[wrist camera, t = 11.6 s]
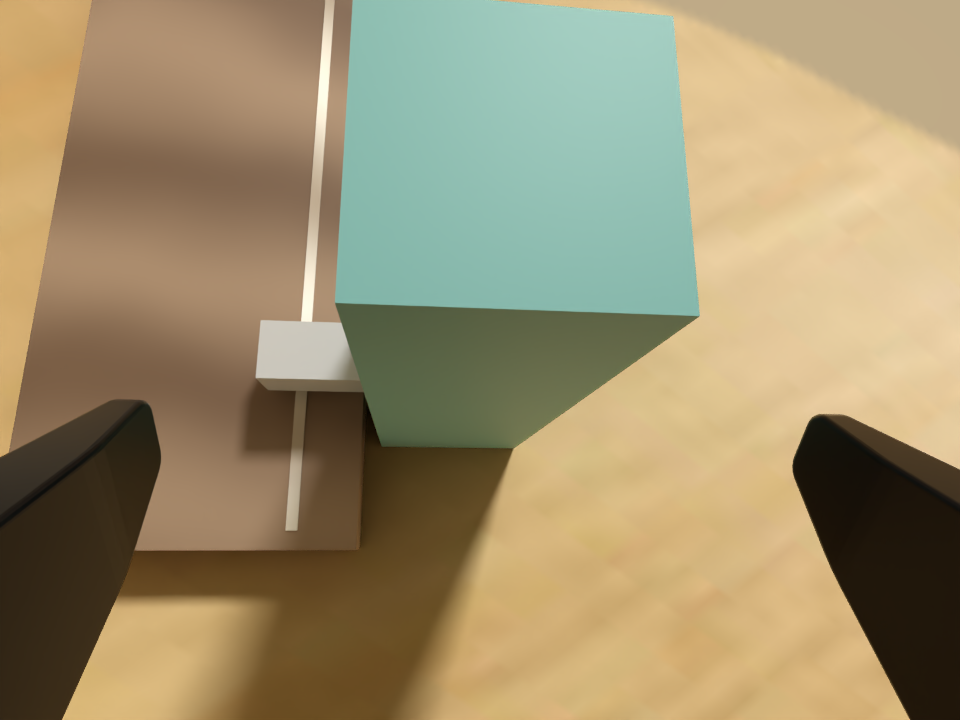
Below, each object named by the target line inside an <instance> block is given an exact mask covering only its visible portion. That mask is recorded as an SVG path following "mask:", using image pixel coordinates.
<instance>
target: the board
mask: <svg viewBox="0 0 960 720" xmlns="http://www.w3.org/2000/svg"><path fill="white" fill-rule="evenodd" d="M352 4H353V0H92V3H91V9H90V14H89V20H88V25H87V30H86V36H85V41H84V47H83V52H82V58H81V63H80V69H79V74H78V79H77V85H76V90H75V96H74V101H73V107H72V112H71V117H70V123H69V128H68V134H67V139H66V145H65V150H64V156H63V161H62V166H61V172H60V177H59V183H58V188H57V194H56V199H55V205H54V210H53V215H52V221H51V226H50V232H49V237H48V243H47V248H46V254H45V259H44V264H43V270H42V275H41V281H40V286H39V292H38V297H37V302H36V308H35V313H34V319H33V324H32V330H31V335H30V341H29V346H28V351H27V357H26V362H25V368H24V373H23V379H22V384H21V390H20V395H19V400H18V406H17V411H16V417H15V422H14V428H13V433H12V439H11V444H10V449H9V452H11V451H13V450H15V449H17V448H19V447H21V446H23V445H25V444H27V443H29V442H31V441H33V440H35V439H36V438H38V437H40V436H42V435H44V434H46V433H48V432H50V431H52V430H54V429H56V428H58V427H60V426H62V425H63V424H65V423H67V422H69V421H71V420H73V419H75V418H77V417H79V416H81V415H83V414H85V413H87V412H89V411H90V410H92V409H94V408H96V407H98V406H100V405H102V404H104V403H106V402H108V401H110V400H114V399H132V400H144V401H146V402H147V403H149V405H150V407H151V409H152V412H153V417H154V422H155V426H156V431H157V436H158V440H159V445H160V450H161V465H160V470H159V473H158V477H157V480H156V483H155V486H154V490H153V493H152V496H151V499H150V502H149V506H148V509H147V512H146V515H145V519H144V522H143V525H142V528H141V531H140V535H139V538H138V541H137V544H136V547H135V551H158V550H357V549H359V548H360V538H361V516H362V495H363V474H364V453H365V431H366V410H367V400H366V397H365V394H364V392H330V391H284V390H268V389H266V388H265V387H264V386H263V385H262V384H261V383H260V382H259V381H258V380H257V379H256V368H257V356H258V345H259V334H260V322H261V320H273V321H304V322H334V323H341V320H340V317H339V314H338V311H337V308H336V305H335V291H336V274H337V257H338V240H339V223H340V207H341V190H342V173H343V156H344V139H345V122H346V105H347V88H348V71H349V54H350V37H351V21H352Z"/></svg>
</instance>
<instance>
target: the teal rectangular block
mask: <svg viewBox="0 0 960 720" xmlns="http://www.w3.org/2000/svg"><path fill="white" fill-rule="evenodd" d="M335 305H336V308H337V311H338V314H339V317H340V320H341V323H334V322H304V321H273V320H261V322H260V334H259V345H258V356H257V368H256V379H257V380H258V381H259V382H260V383H261V384H262V385H263V386H264V387H265V388H266V389H268V390H284V391H330V392H364V394H365V397H366V400H367V403H368V406H369V409H370V412H371V415H372V419H373V422H374V425H375V428H376V431H377V434H378V437H379V440H380V443H381V446H382V447H444V448H515V447H516V446H518V445H519V444H521V443H522V442H523V441H525V440H526V439H528V438H529V437H530V436H532V435H533V434H535V433H536V432H537V431H539V430H540V429H542V428H543V427H544V426H546V425H547V424H549V423H550V422H551V421H553V420H554V419H556V418H557V417H558V416H560V415H561V414H563V413H564V412H565V411H567V410H568V409H570V408H571V407H573V406H574V405H575V404H577V403H578V402H580V401H581V400H582V399H584V398H585V397H587V396H588V395H589V394H591V393H592V392H594V391H595V390H596V389H598V388H599V387H601V386H602V385H603V384H605V383H606V382H608V381H609V380H610V379H612V378H613V377H615V376H616V375H617V374H619V373H620V372H622V371H623V370H625V369H626V368H627V367H629V366H630V365H632V364H633V363H634V362H636V361H637V360H639V359H640V358H641V357H643V356H644V355H646V354H647V353H648V352H650V351H651V350H653V349H654V348H655V347H657V346H658V345H660V344H661V343H662V342H664V341H665V340H667V339H668V338H670V337H671V336H672V335H674V334H675V333H677V332H678V331H679V330H681V329H682V328H684V327H685V326H686V325H688V324H689V323H691V322H692V321H693V320H695V319H696V318H698V317H699V316H700V314H699V303H698V292H697V280H696V269H695V258H694V247H693V235H692V224H691V213H690V201H689V190H688V179H687V167H686V156H685V145H684V134H683V122H682V111H681V100H680V88H679V77H678V66H677V55H676V43H675V32H674V21H673V16H666V15H654V14H643V13H631V12H620V11H608V10H597V9H585V8H574V7H562V6H551V5H539V4H528V3H516V2H505V1H493V0H353V4H352V21H351V37H350V54H349V71H348V88H347V105H346V122H345V139H344V156H343V173H342V190H341V207H340V223H339V240H338V257H337V274H336V291H335Z"/></svg>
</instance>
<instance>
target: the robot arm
mask: <svg viewBox="0 0 960 720" xmlns="http://www.w3.org/2000/svg"><path fill="white" fill-rule="evenodd" d="M160 465H161V450H160V445H159V440H158V436H157V431H156V426H155V422H154V417H153V412H152V409H151V407H150V405H149V403H147V402H146V401H144V400H132V399H114V400H110V401H108V402H106V403H104V404H102V405H100V406H98V407H96V408H94V409H92V410H90V411H89V412H87V413H85V414H83V415H81V416H79V417H77V418H75V419H73V420H71V421H69V422H67V423H65V424H63V425H62V426H60V427H58V428H56V429H54V430H52V431H50V432H48V433H46V434H44V435H42V436H40V437H38V438H36V439H35V440H33V441H31V442H29V443H27V444H25V445H23V446H21V447H19V448H17V449H15V450H13V451H11V452H9V453H7V454H6V455H4V456H2V457H0V720H62V718H63V716H64V714H65V712H66V710H67V707H68V705H69V703H70V701H71V698H72V696H73V694H74V692H75V689H76V687H77V685H78V683H79V681H80V678H81V676H82V674H83V672H84V669H85V667H86V665H87V663H88V660H89V658H90V656H91V654H92V651H93V649H94V647H95V645H96V643H97V640H98V638H99V636H100V634H101V631H102V629H103V627H104V625H105V622H106V620H107V618H108V616H109V614H110V611H111V609H112V607H113V605H114V602H115V600H116V598H117V596H118V593H119V591H120V589H121V586H122V584H123V582H124V579H125V577H126V574H127V572H128V569H129V566H130V563H131V560H132V557H133V554H134V551H135V547H136V544H137V541H138V538H139V535H140V531H141V528H142V525H143V522H144V519H145V515H146V512H147V509H148V506H149V502H150V499H151V496H152V493H153V490H154V486H155V483H156V480H157V477H158V473H159V470H160ZM792 466H793V475H794V478H795V481H796V483H797V486H798V488H799V491H800V493H801V496H802V498H803V501H804V503H805V506H806V508H807V511H808V513H809V516H810V518H811V521H812V523H813V526H814V528H815V531H816V533H817V536H818V538H819V541H820V543H821V546H822V548H823V551H824V553H825V555H826V558H827V560H828V562H829V565H830V567H831V569H832V571H833V573H834V575H835V577H836V579H837V581H838V584H839V586H840V587H841V589H842V591H843V593H844V595H845V597H846V599H847V601H848V603H849V605H850V607H851V608H852V610H853V612H854V614H855V616H856V618H857V620H858V622H859V624H860V626H861V627H862V629H863V631H864V633H865V635H866V637H867V639H868V641H869V643H870V645H871V646H872V648H873V650H874V652H875V654H876V656H877V658H878V660H879V662H880V664H881V665H882V667H883V669H884V671H885V673H886V675H887V677H888V679H889V681H890V683H891V685H892V686H893V688H894V690H895V692H896V694H897V696H898V698H899V700H900V702H901V704H902V705H903V707H904V709H905V711H906V713H907V715H908V717H909V719H910V720H960V469H957V468H955V467H953V466H951V465H949V464H947V463H945V462H943V461H941V460H939V459H936V458H934V457H932V456H930V455H928V454H926V453H924V452H922V451H920V450H918V449H916V448H913V447H911V446H909V445H907V444H905V443H903V442H901V441H899V440H897V439H895V438H892V437H890V436H888V435H886V434H884V433H882V432H880V431H878V430H876V429H874V428H872V427H869V426H867V425H865V424H863V423H861V422H859V421H857V420H855V419H853V418H851V417H848V416H846V415H840V414H818V415H816V416H814V417H812V418H811V420H810V421H809V423H808V425H807V427H806V429H805V432H804V434H803V437H802V439H801V442H800V444H799V446H798V449H797V451H796V454H795V456H794V459H793V465H792Z"/></svg>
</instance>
